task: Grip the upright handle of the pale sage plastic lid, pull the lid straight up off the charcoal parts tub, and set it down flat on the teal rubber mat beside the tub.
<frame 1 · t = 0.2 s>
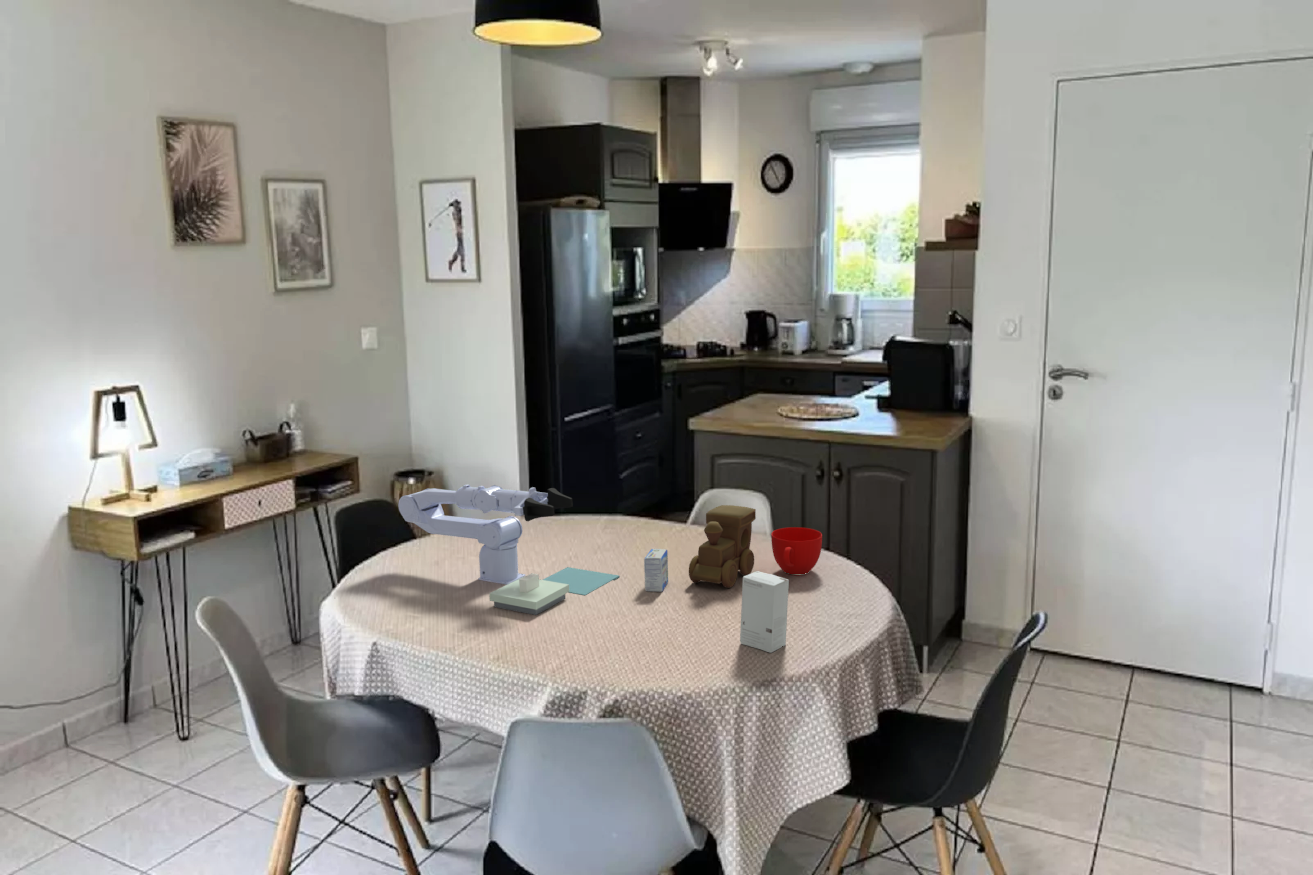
hand: (562, 506, 235), 21 cm above the table, tool horizontal, fingers open, 7 cm apart
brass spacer: (528, 597, 233), resting on tub
ceramic cup: (794, 574, 248), on the table
steel block: (533, 606, 227), resting on tub
wooden toy train: (722, 579, 246), on the table
tub: (530, 604, 230), on the table
skincare box: (764, 645, 204), on the table
lid: (529, 592, 230), point 3 cm above the table, touching tub
mat: (576, 582, 245), on the table
medicine box: (656, 587, 241), on the table
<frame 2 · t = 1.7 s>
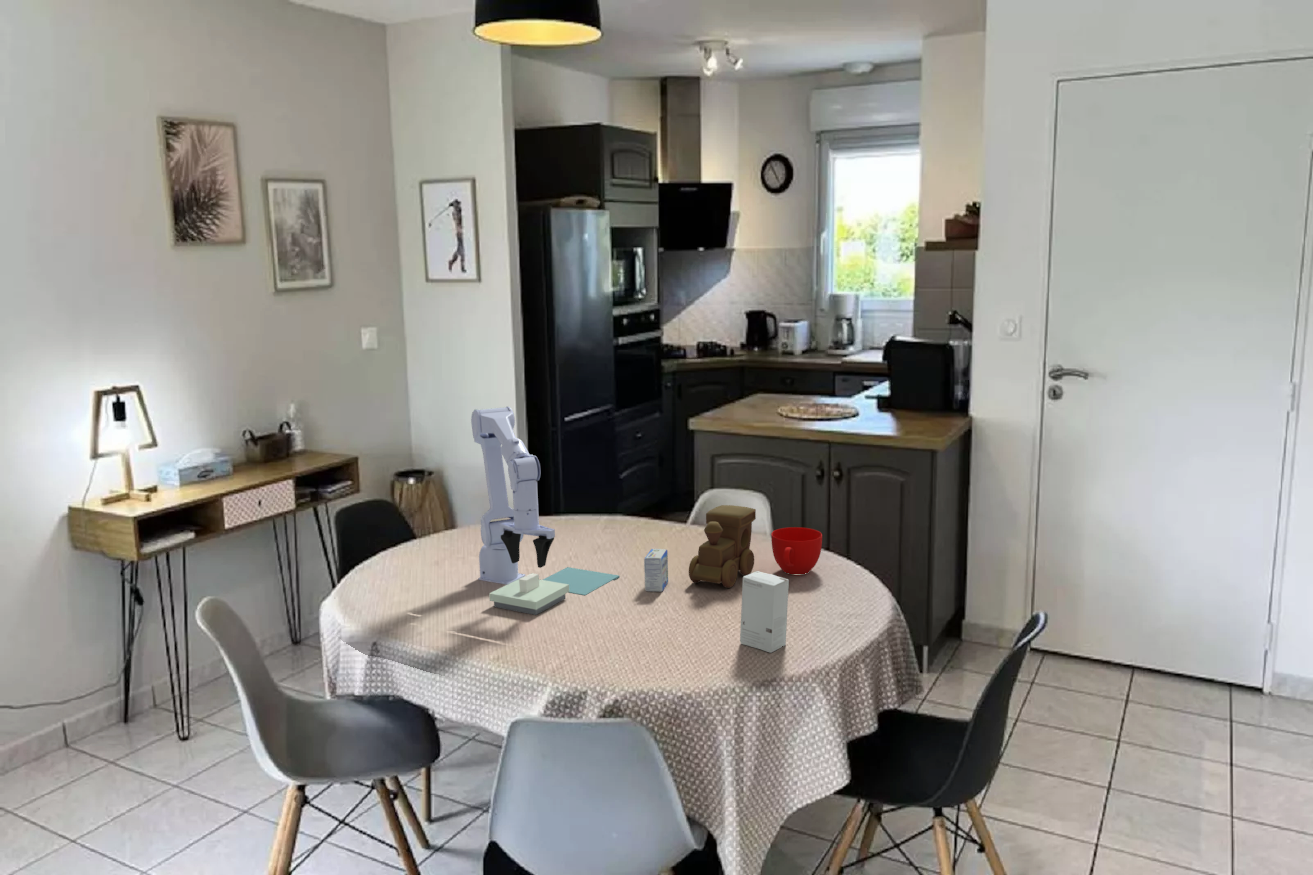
hand: (528, 564, 228), 10 cm above the table, tool pointing down, fingers open, 7 cm apart
nothing on the table moved.
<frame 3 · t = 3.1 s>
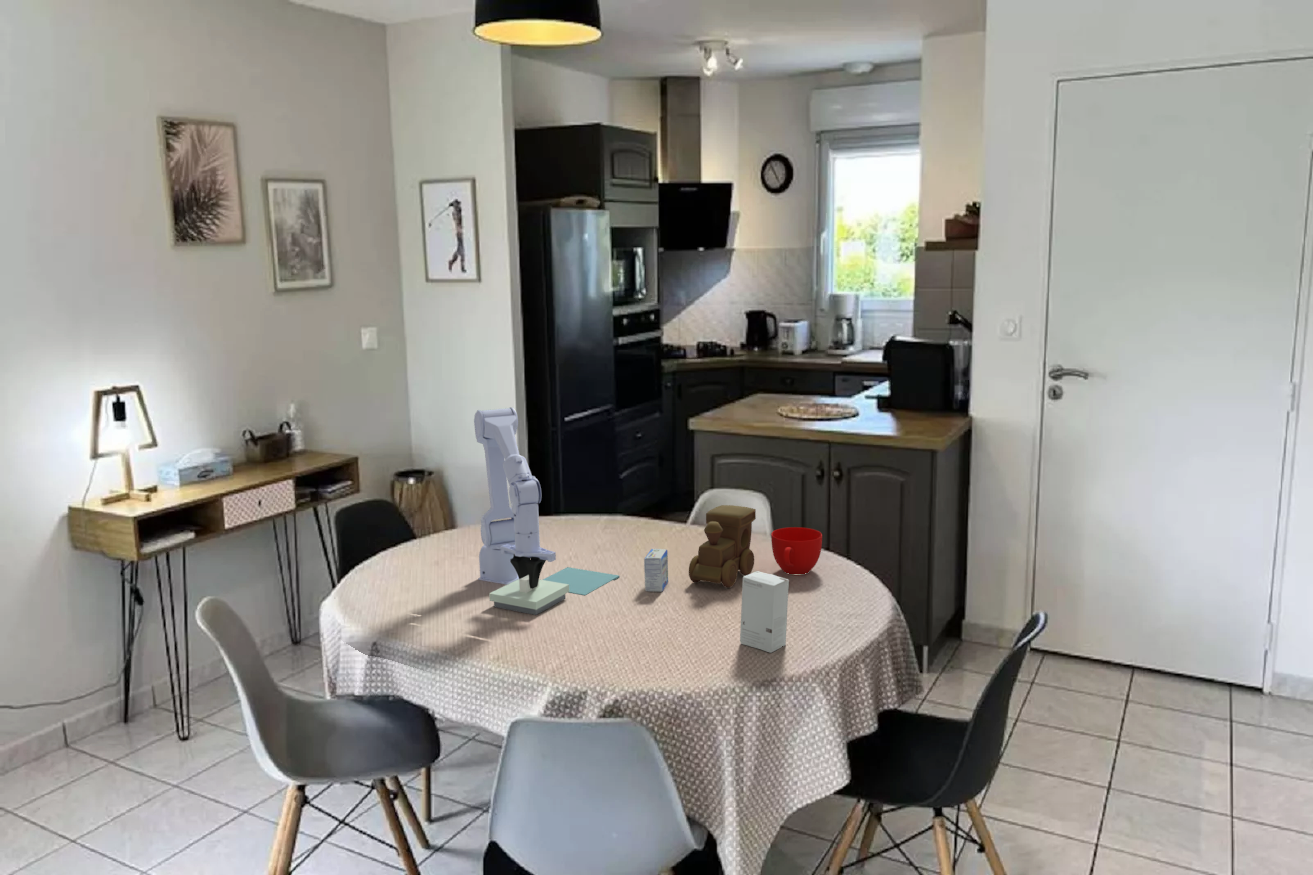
hand: (529, 586, 229), 4 cm above the table, tool pointing down, fingers closed on lid
lid: (529, 592, 230), point 3 cm above the table, touching gripper, tub
everything else where it was.
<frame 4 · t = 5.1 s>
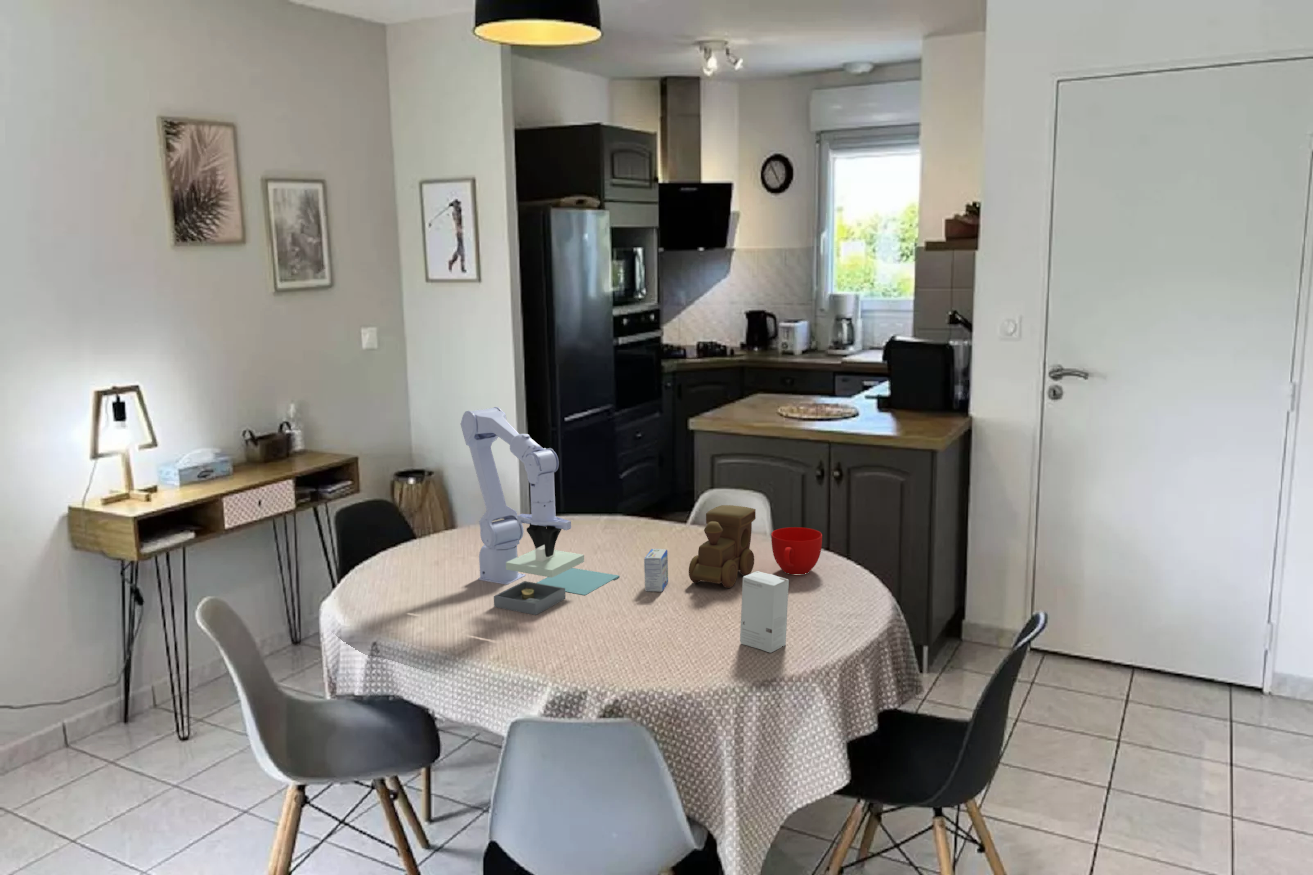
hand: (545, 555, 234), 10 cm above the table, tool pointing down, fingers closed on lid
lid: (545, 561, 234), point 9 cm above the table, touching gripper
everything else where it was.
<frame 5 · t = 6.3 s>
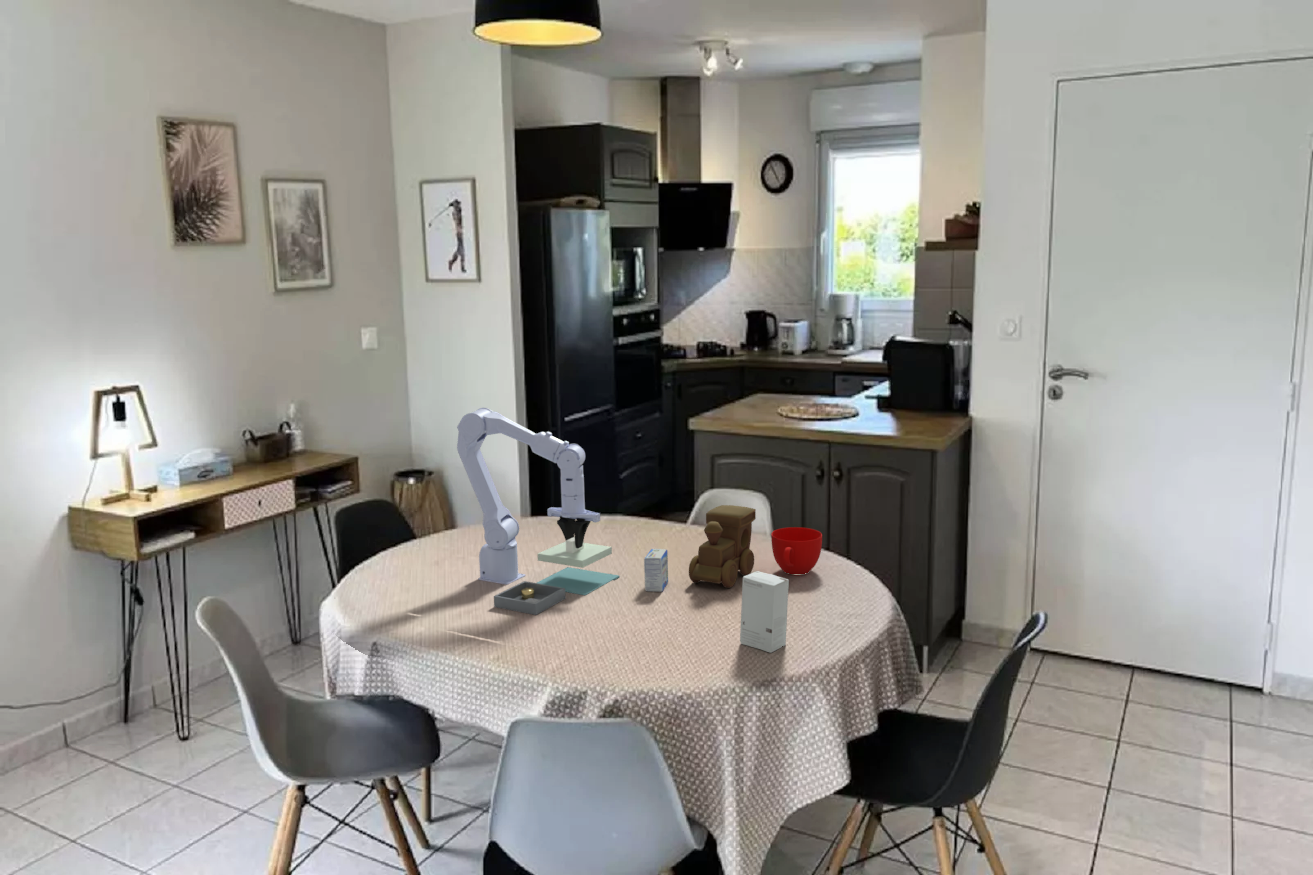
hand: (574, 546, 243), 9 cm above the table, tool pointing down, fingers closed on lid
lid: (575, 553, 244), point 8 cm above the table, touching gripper
everything else where it was.
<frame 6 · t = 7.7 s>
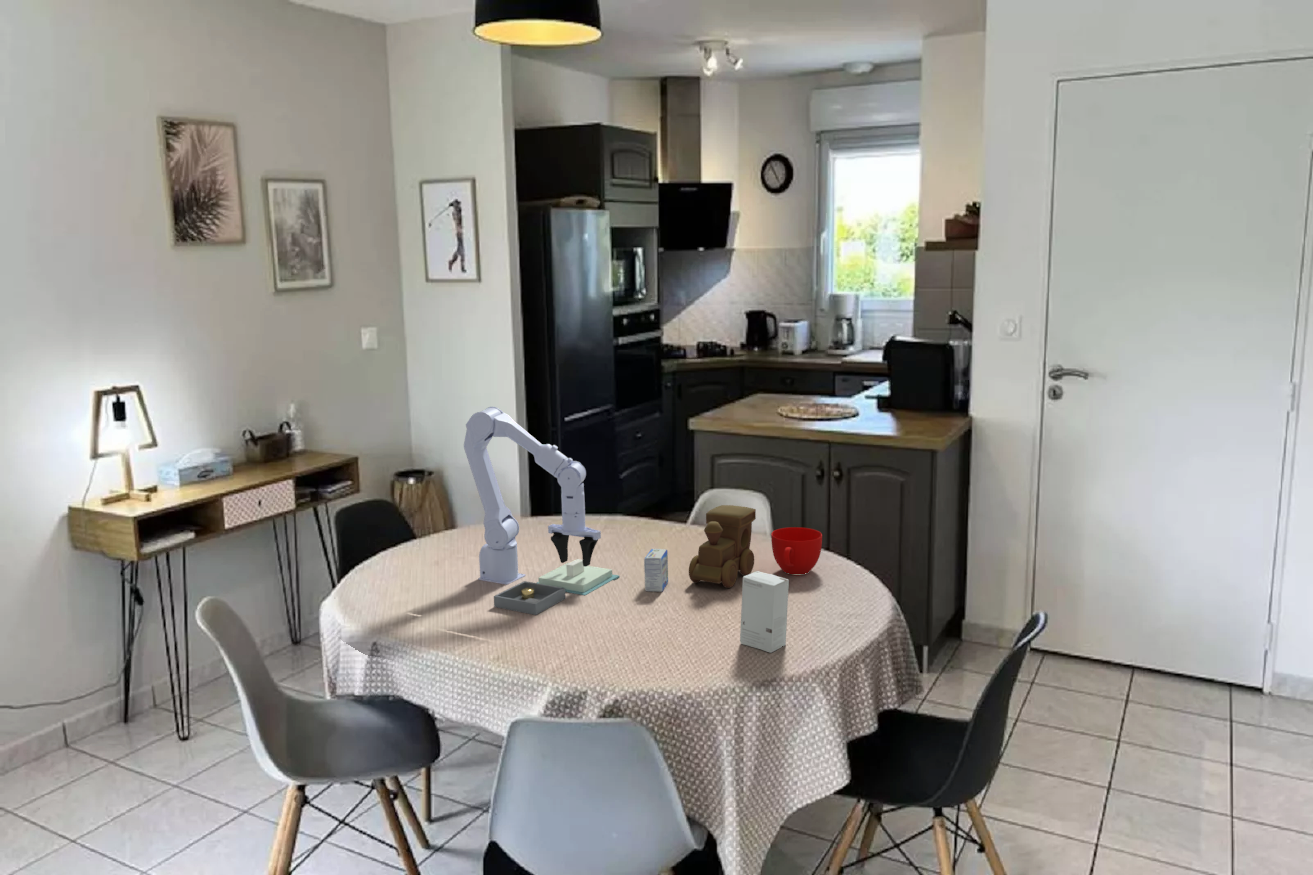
hand: (575, 563, 244), 5 cm above the table, tool pointing down, fingers open, 6 cm apart
lid: (575, 576, 245), point 1 cm above the table, touching mat
everything else where it was.
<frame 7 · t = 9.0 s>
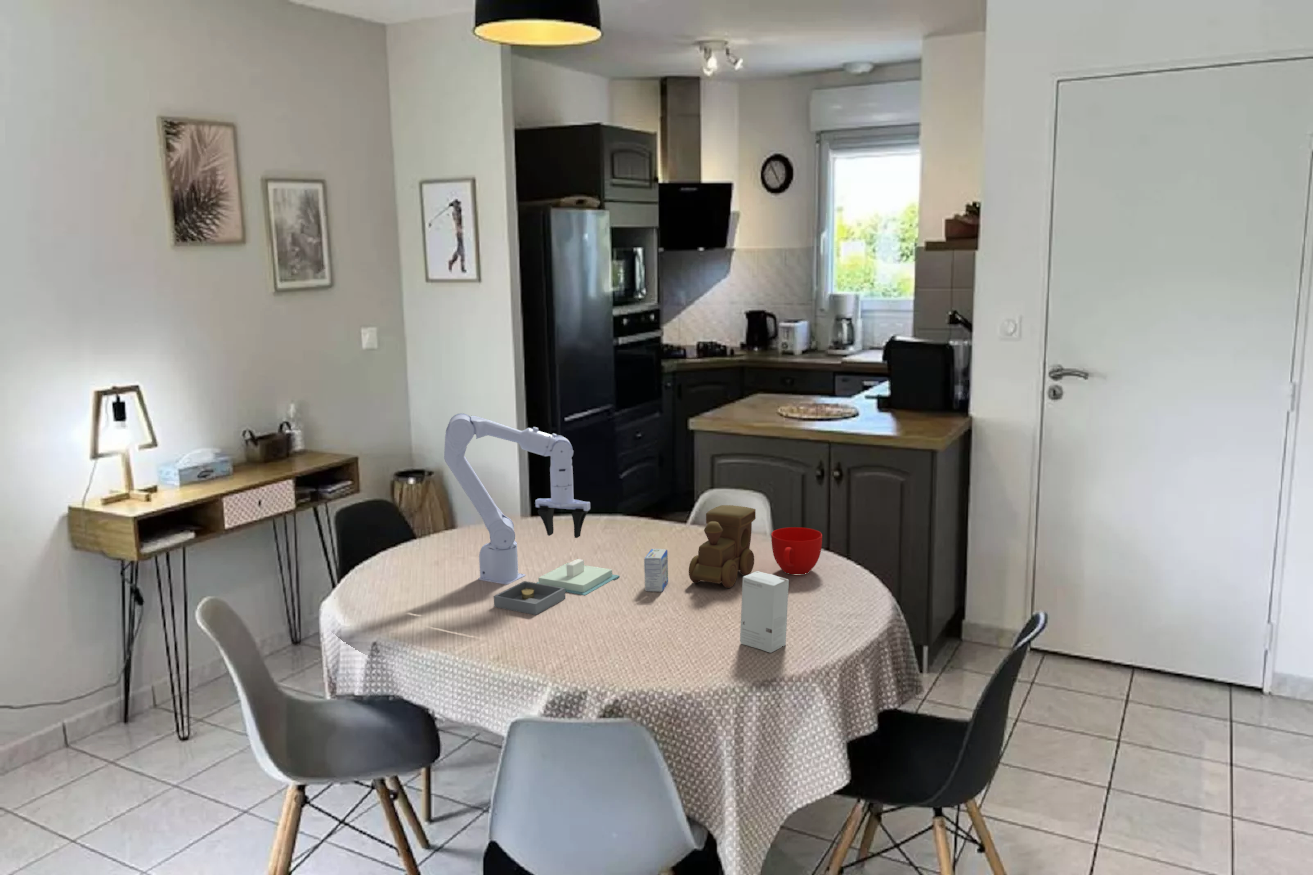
hand: (563, 535, 250), 10 cm above the table, tool pointing down, fingers open, 7 cm apart
nothing on the table moved.
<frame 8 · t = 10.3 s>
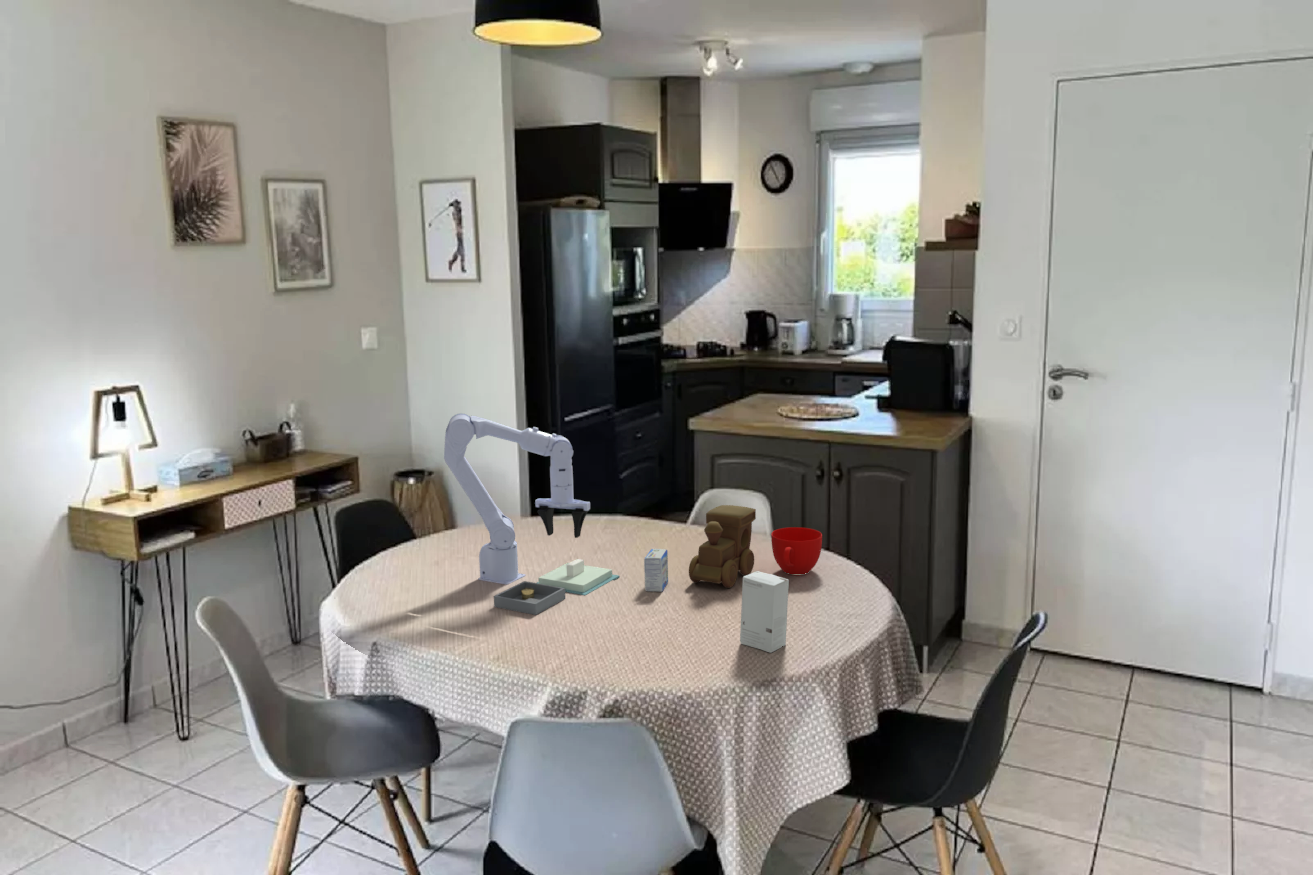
hand: (563, 535, 250), 10 cm above the table, tool pointing down, fingers open, 7 cm apart
nothing on the table moved.
at the end: lid inside the target area on the mat (0.1 cm from its centre), point 1.5 cm above the mat's base; lid tilted 0°; the gripper is holding nothing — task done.
